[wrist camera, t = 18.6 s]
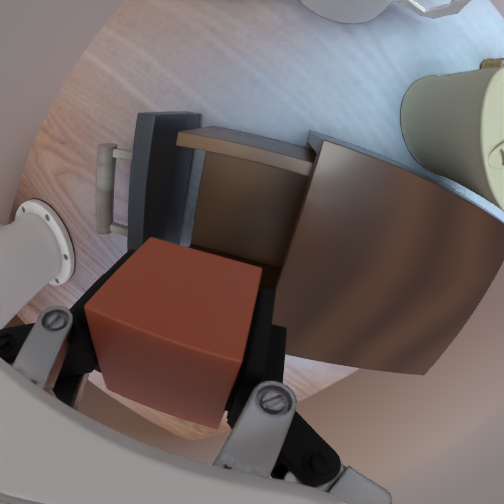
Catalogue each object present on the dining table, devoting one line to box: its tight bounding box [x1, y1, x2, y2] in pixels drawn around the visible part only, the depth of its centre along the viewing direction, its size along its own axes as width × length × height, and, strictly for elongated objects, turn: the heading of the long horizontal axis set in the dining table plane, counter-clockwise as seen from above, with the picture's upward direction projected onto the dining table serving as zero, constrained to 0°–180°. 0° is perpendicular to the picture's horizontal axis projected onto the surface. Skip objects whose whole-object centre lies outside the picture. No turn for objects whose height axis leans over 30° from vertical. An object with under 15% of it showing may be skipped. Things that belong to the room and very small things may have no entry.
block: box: [84, 237, 262, 429], centre depth 9 cm, size 4×4×4 cm
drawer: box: [96, 112, 316, 290], centre depth 19 cm, size 18×13×8 cm
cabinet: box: [272, 131, 504, 375], centre depth 19 cm, size 15×14×10 cm
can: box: [400, 66, 504, 212], centre depth 12 cm, size 9×9×12 cm
